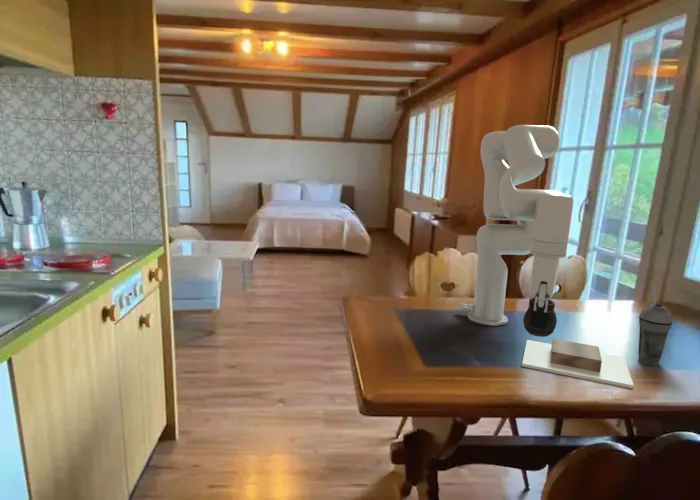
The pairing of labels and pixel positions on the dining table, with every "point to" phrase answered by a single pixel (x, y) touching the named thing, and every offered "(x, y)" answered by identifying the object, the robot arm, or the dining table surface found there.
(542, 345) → the board
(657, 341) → the beverage cup
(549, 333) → the mate gourd
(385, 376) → the dining table surface
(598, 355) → the walnut plinth
